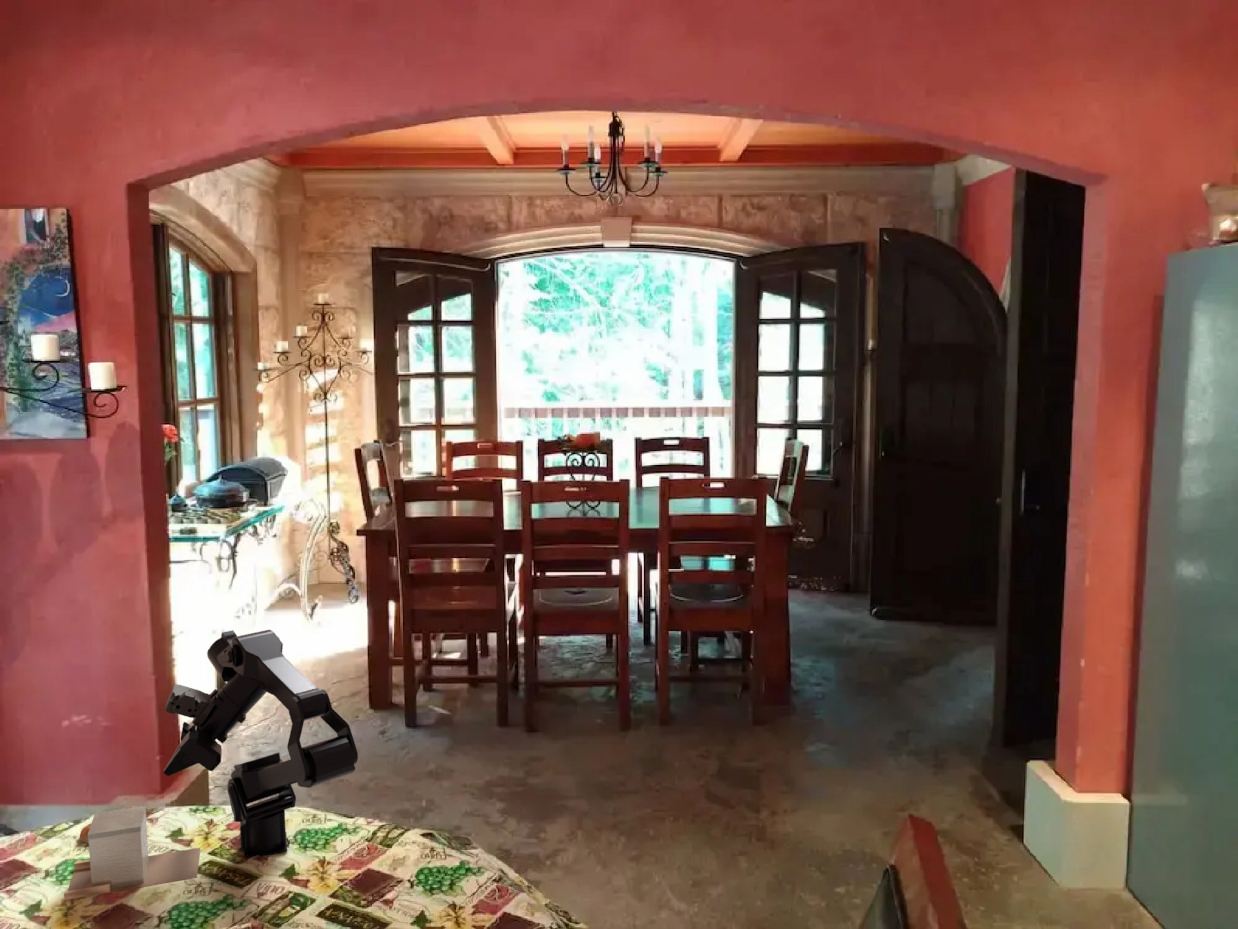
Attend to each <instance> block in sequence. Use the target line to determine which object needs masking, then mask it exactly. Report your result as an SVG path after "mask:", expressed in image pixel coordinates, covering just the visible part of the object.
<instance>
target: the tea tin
mask: <svg viewBox="0 0 1238 929" xmlns="http://www.w3.org/2000/svg"><path fill="white" fill-rule="evenodd" d="M146 812H147V807H146V805H141V806H136V807H133V808H130V807H129V808H128V807H126V808H122V809H121V808H120V809H114V810H107V811H100V812H95V813H94V814H93V815H94V816H93V819H92V821H91V823H90V824H91V826H90V829H89V832H88V840H89V843H88V852H89V860H90V868H91V881H92V887H95V886H101V885H107V884H110V888H114V887H120V886H126V885H132V884H138V883H144V880H145V875H146V870H147V865H148V860H149V857H148V856H149V846H148V831H147V830H148V828H147V815H146Z"/></svg>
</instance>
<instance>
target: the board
mask: <svg viewBox="0 0 1238 929" xmlns="http://www.w3.org/2000/svg"><path fill="white" fill-rule="evenodd" d="M200 854H201V847H196V848H195V847H194V848H189V849H184V850H178V851H173V852H172V851H170V852H165V853H159V854H158V853H157V854H152V855H148V857H149V860H148V865H147V870H146V875H145V880H144V883H138V884H132V885H126V886H120V887H114V888H110V884H107V885H101V886H95V887H92V881H91V868H90V859H85V860H79V861H74V863H73V864H74V866H73V867H74V871H73V874H72V876H71V880H70V881H69V882H70V883H69V886H68V888H67V890H65V891H64V892H63V900H64V901H68V900H75V899H81V898H87V897H92V896H98V895H105V894H109V893H110V894H111V893H115V892H121V891H128V890H134V889H137V888H138V889H139V888H143V887H144V888H145V887H149V886H156V885H161V884H167V883H172V882H179V881H180V882H181V881H185V880H190V879H191V880H192V879H195V878H198V872H199V864H200Z"/></svg>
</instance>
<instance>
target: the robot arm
mask: <svg viewBox="0 0 1238 929" xmlns="http://www.w3.org/2000/svg"><path fill="white" fill-rule="evenodd" d="M283 643H284V642H282V641H281V639H280V637H279V636H278V635H277V634H276V632H274V631H273V630H272V629H266V630H262V631H256V632H251V633H246V634H241V635H237V634H236V632H235V631H234V630H228V631H223V632H221V636H220V638H218V639H217V640H215V641H214V642H213V643H212V644H211V645H210V647H209V648H208V650H207V651H206V652H207V654H206V655H207V658H208V660H209V662H210V663H211V665H212V666H213V668H214V669H215V671H216V672H217V674H218V675H219V676H220V678H221V680H223V682H224V683H225V684H224V686H222V687H221V688H219V687H217V689H216V688H215V689H213V690H212V692H211V693H206V692H204V691H201V690H199V689H196V688H192V687H189V686H185V685H182V684H178V683H177V684H174V685H173V687H172V689H171V692H170V694H169V696H168V698H167V701H166V703H165V707H164V710H165V712H166V713H169V714H172V715H175V714H176V715H180V716H183V717H187V718H192V720H191V722H189V723H188V722H185V721H183V723H182V727H181V733H180V738H179V739H180V743H179V744H178V746H177V747H176V749H175V751H174V753H173V754H172V756H171V758H170V759H169V761H168V762H167V765H166V766H165V768H164V769H163V774H164V775H166V776H167V777H170V776H173V775H175V774H177V773H179V772H181V771H183V770H186V769H188V768H190V767H193V766H195V765H197V764H199V765H200V766H202V767H203V768H205V769H206V770H207V771H210V772H213V771H214V770H216V768H217V767H218V766H219V765H220V764H221V763H222V754H223V752H222V751H223V750H222V745H221V744H224V743H225V742H226V741H227V740H228V734H229V733H230V732H231V731H232V729H234V728H235V727H236V726H237V724H243V722H244V721H246V719H247V714H248V713H249V712H250V710H252V709H253V708H254V706H256V704H257V703H258V702H259V701H260V700H261V699H262V698H263V697H264V696H265V694H266V693H267V694H270V695H272V696H274V697H275V698H276V699H277V700H278V701H279V702H280V703H281V704H282V705H283V706H284V707H285V708H286V709H287V710H288V714H289V717H290V720H291V724H292V725H291V729H290V734H289V738H288V742H287V746H286V748H287V751H288V754H289V758H290V759H288V760H284V761H283V759H281V753H280V752H279V751H278V752H275V753H272V754H268V755H266V756H262V757H258V758H256V759H252V760H249V761H245V762H242V763H239V764H236V765H234V766H233V768H234V770H233V771H232V772H231V774H230V779H229V780H228V782H227V786H226V787H227V794H228V798H229V803H230V808H231V812H232V815H233V820H234V822H236V823H239V831H240V833H239V834H240V848H241V849H240V850H241V851H242V852H244V856H243V857H244V859H249V858H255V857H259V858H260V857H267V856H271V855H272V856H273V855H279V854H284V853H287V852H288V838H287V831H286V812H285V810H288V809H294V808H295V806H296V800H297V795H296V794H295V791H294V789H293V786H292V785H293V784H297V786H298V787H300V788H301V787H302V788H308V789H309V788H314V787H316V786H318V785H319V786H320V785H322V784H325V783H327V782H331V781H334V780H336V779H339V778H343V777H346V776H348V775H351V774H353V773H354V772H355V770H356V766H355V765H356V764H357V763H358V758H359V754H358V750H357V746H356V743H355V740H354V737H353V734H352V730H351V727H350V725H349V724H348V722H347V721H346V720H345V719H344V718H343V717H342V716H341V715H340V714H339V713H338V712H337V711H336V710H335V709H334V708H333V706H332V703H331V699H330V697H329V694H328V692H327V691H326V690H325V689H320V688H318V687H317V686H316V685H315V684H313V682H311V681H310V679H308V678H307V676H305V675H304V674H303V673H302V672H301V671H300V670H299V669H298V668H297V667H296V666H295V665H294V664H293V663H292V662H291V661H290V660H289V659H287V658H286V657H285V655H284V654H283V646H284V644H283ZM318 717H320V718H321V719H322V720H323V722H325V723H326V724H327V725H328V726H329V727H330V728H331V729H332V730H333V731H334V732H335V733H336V735H337V736H333V737H331V738H328V739H324V740H322V741H318V742H316V743H312V744H309V745H306V746H302V744H301V736H302V732H303V727H304V724H305V721H309V720H312V719H316V718H318ZM216 740H217V741H218V742H219V743H221V744H219V743H218V742H217V741H216ZM275 795H276V796H275ZM272 796H273V797H272ZM269 797H270V798H269ZM266 798H267V799H266ZM263 799H264V800H263ZM260 800H261V801H260ZM257 801H259V802H257ZM254 802H256V803H254ZM249 804H250V805H249Z"/></svg>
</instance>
